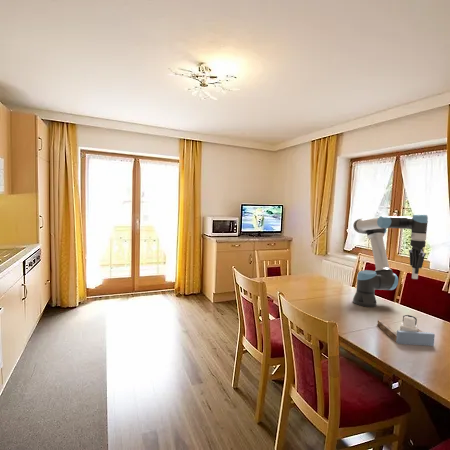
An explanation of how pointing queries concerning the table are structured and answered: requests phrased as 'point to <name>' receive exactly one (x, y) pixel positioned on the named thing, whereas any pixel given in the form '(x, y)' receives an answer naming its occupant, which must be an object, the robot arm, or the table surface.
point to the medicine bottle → (409, 323)
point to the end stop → (415, 338)
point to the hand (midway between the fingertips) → (414, 278)
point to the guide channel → (389, 330)
